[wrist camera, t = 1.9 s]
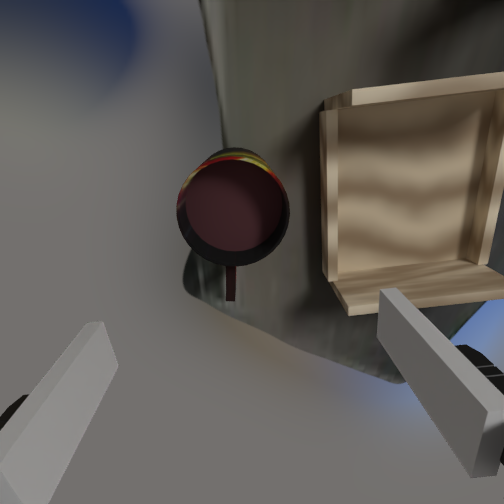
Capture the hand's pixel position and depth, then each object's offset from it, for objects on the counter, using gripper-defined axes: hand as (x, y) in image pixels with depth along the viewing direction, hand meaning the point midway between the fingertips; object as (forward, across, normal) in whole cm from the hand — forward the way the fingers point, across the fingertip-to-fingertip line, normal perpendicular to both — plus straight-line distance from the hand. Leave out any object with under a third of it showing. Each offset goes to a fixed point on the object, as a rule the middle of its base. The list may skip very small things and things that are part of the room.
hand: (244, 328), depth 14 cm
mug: (+25, 0, 0) cm, 25 cm away
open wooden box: (+25, +20, 0) cm, 32 cm away
